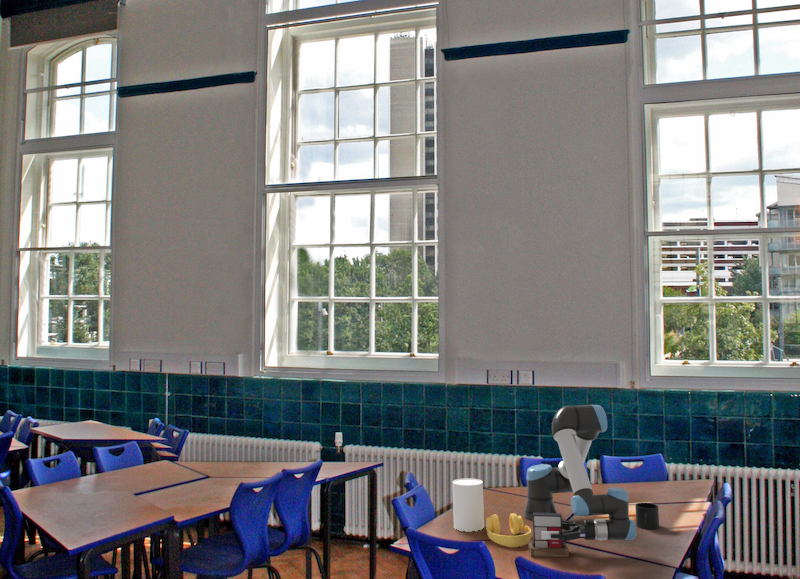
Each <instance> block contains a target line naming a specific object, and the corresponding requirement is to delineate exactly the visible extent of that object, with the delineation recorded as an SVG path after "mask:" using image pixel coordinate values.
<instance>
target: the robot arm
mask: <svg viewBox="0 0 800 579" xmlns="http://www.w3.org/2000/svg"><path fill="white" fill-rule="evenodd" d="M607 430H608V418H607V414H606V411H605V410H604V408H603V406H601V405H600V404H582V405H581V404H580V405H565V406H563V407H561V408H560V409H558V410H557V412H556V413H555V415H554V416H553V419H552V422H551V433H552V434H551V435H552V437H553V440H554V441H556V442H557V444H558V445H557V446H558V447H559V452H560V455H561V457H562V460H561V461H560V462H559V464H558V466H557V467H556V466H555V467H552V465H551V464H547V463H544V464H536V465H532V466H530V467H528V468H527V470H526V489H527V490H526V491H527V493H526V494H527V501H526V504H525V507H524V510H523V511H524V512H523V514H524V518H526V519H527V520H530V521H531V520H532V521H533V513H558V511H557V508H556V505H555V503H554V496H553V494H564V493H565V494H568V493H569V494H571V493H573V496H571V498H570V502H569V503H570V509H571V511H572V513H573V514H574V515H575V516H577V517H588V516H599V515H600V516H604V515H607V516H608V519H594V520H593V519H583V520H582V523H581V524H579V521H574V520H573V521H572V520H571V521H570V520H565V519H562V531H541V536H542V539H560V540H562V541H563V542H569V541H573V540H574V541H575V540H580V539H581V540H583V539H584V540H585V541H595V540H596V541H601V542H603V541H632V540H635V539H636V538H637V527H636V526H637V525H636V521H634V520H633V519H630V515H629V511H630V510H629V507H630V506H629V495H628V491H627V490H626V489H625V488H622V487H616V486H615V487H608V488H607V493H604V494H602V493H601V494H595V493H594V491H593V488H592V485H591V481H590V479H589V475H588V472H587V470H586V466H585V464H584V463H585V462H586V459H587V456H588V453H589V450H590V449H591V448H590V447H591V445H592V441H594V440H596V439H597V438H598V436H599V434H600V433H605V432H606V431H607Z"/></svg>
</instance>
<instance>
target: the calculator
mask: <svg viewBox="0 0 800 579" xmlns="http://www.w3.org/2000/svg"><path fill="white" fill-rule="evenodd" d="M562 517H563V516H562V514H561V512H560V513H559V512H557V513H533V520H532V528H533V529H532V530H533V531H532V533H533V536H532V538H533V542H534V548H563V542H564V541H562V540H560V539H542V536H541V531H562V532H563V529H562V520H563V519H562Z"/></svg>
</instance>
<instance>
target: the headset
mask: <svg viewBox="0 0 800 579" xmlns="http://www.w3.org/2000/svg"><path fill="white" fill-rule="evenodd" d="M509 514H510V515H509V519H508V521H509V523H508V524H509V530H510V532H511V534H512V535H504V534H500V533H501V523H500V518H499V515H498V514H496V513H494V514H491V515H490V516H487V517H486V518H485V529H486V532H487V533H486V534H487V537H488V539H490V540H491V541H492V542H494V543H496V544H498V545H499V546H503V547H508V548H517V547H518V548H519V546H520V547H523V546H525V545H527V544H528V542H531V539H532V529H531V528H530V527H529V526H528V525H525V524H524V519H523V517H522V516H521V515H517V513H514V512H513V513H509ZM523 531H524V532H526V533H524V534H519V533H522V532H523ZM518 534H519V535H518Z"/></svg>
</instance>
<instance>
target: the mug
mask: <svg viewBox="0 0 800 579" xmlns="http://www.w3.org/2000/svg"><path fill="white" fill-rule="evenodd" d="M634 507H635V525H636V526H637V527H638V528H640V529H643V528H644V530H657V529H659V527H660V517H659V516H660V515H659V514H660V513H659V505H658V504H655V503H652V502H638V503H635V505H634ZM656 528H657V529H656Z"/></svg>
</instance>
